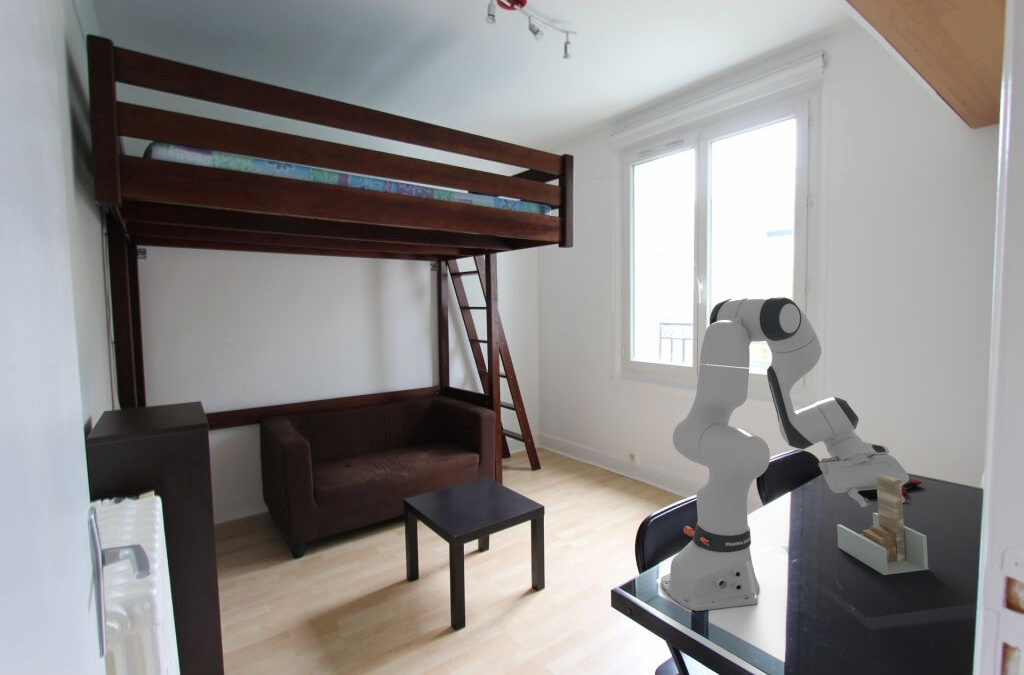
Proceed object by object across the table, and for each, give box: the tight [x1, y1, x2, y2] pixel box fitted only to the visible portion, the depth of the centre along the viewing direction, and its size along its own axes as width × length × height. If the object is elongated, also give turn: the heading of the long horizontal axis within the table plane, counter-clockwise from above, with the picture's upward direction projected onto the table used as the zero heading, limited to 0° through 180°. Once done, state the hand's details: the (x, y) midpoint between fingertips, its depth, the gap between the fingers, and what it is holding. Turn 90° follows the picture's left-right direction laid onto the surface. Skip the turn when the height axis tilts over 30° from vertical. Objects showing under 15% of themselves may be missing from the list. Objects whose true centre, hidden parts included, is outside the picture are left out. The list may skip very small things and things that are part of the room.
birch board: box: [876, 474, 905, 561], centre depth 119 cm, size 2×5×20 cm, turn 5°
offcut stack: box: [858, 524, 896, 563], centre depth 119 cm, size 6×6×7 cm
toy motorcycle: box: [857, 477, 923, 499], centre depth 163 cm, size 25×5×16 cm
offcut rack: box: [836, 512, 929, 576], centre depth 119 cm, size 12×14×10 cm
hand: (884, 504), depth 121 cm, fingers open, 8 cm apart
